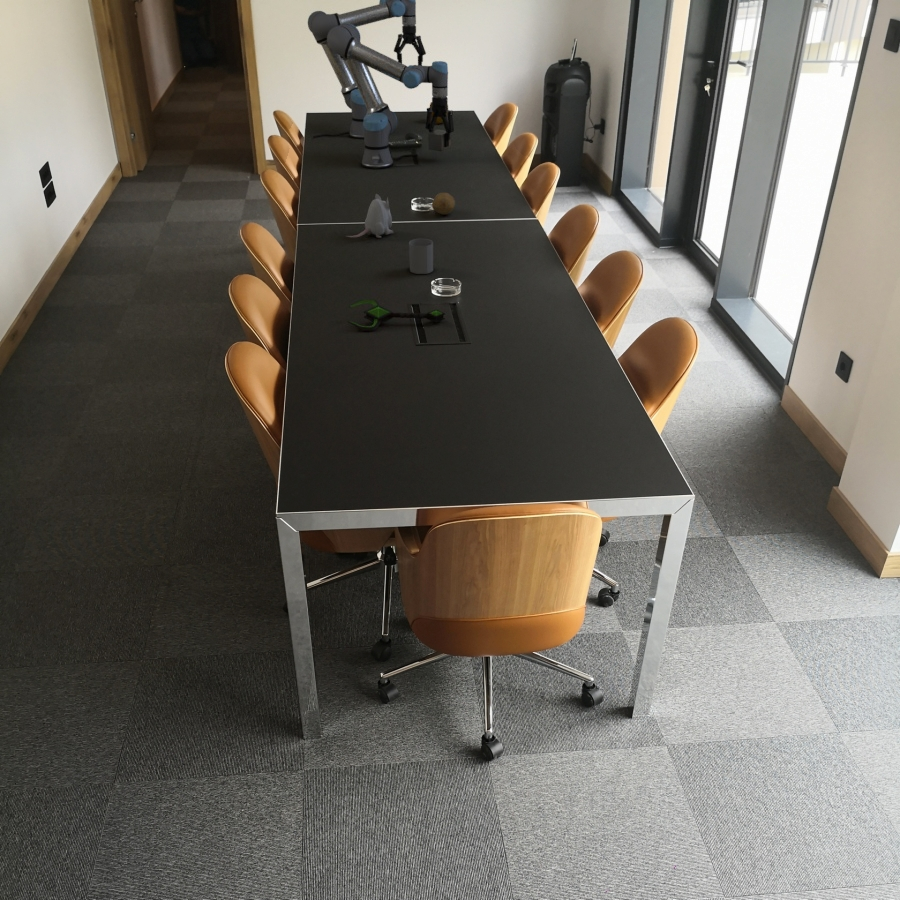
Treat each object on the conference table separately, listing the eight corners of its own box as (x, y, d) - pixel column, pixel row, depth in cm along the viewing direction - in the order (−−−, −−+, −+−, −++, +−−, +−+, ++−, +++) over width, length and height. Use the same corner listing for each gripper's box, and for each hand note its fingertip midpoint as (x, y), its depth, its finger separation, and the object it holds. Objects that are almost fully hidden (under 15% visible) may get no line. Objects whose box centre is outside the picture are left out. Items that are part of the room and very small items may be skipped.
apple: (448, 125, 501) (448, 101, 494) (429, 125, 501) (429, 101, 494) (448, 121, 510) (448, 98, 504) (430, 121, 511) (429, 97, 504)
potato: (453, 208, 369) (453, 189, 365) (456, 218, 357) (456, 199, 353) (431, 208, 368) (430, 189, 364) (432, 218, 356) (432, 199, 352)
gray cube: (437, 146, 436) (437, 129, 431) (450, 148, 432) (450, 131, 428) (428, 149, 430) (428, 132, 425) (441, 151, 426) (441, 134, 422)
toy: (399, 233, 341) (398, 195, 333) (354, 248, 327) (351, 208, 319) (383, 228, 346) (382, 190, 338) (338, 242, 332) (335, 203, 324)
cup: (409, 265, 311) (408, 238, 306) (432, 265, 312) (431, 238, 307) (410, 274, 304) (409, 246, 299) (433, 273, 305) (433, 246, 299)
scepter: (445, 294, 271) (348, 292, 269) (446, 325, 264) (347, 323, 262) (443, 307, 276) (349, 305, 274) (445, 338, 269) (347, 336, 267)
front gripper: (417, 95, 419) (418, 144, 432) (454, 100, 410) (453, 149, 423) (426, 92, 425) (426, 141, 437) (462, 97, 416) (461, 146, 428)
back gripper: (386, 24, 473) (388, 66, 485) (423, 27, 461) (424, 70, 473) (394, 22, 478) (396, 64, 490) (431, 26, 467) (432, 68, 478)
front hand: (439, 145), depth 430 cm, fingers closed on gray cube, 8 cm apart
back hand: (410, 67), depth 481 cm, fingers open, 13 cm apart
